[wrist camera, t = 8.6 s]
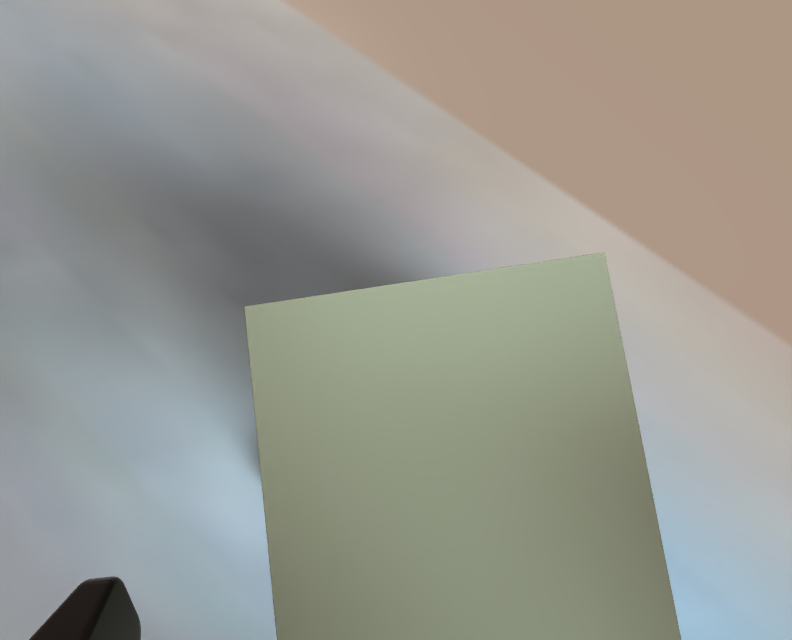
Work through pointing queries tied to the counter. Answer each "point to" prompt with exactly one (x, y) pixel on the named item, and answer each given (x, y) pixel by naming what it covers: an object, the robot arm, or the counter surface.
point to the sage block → (457, 462)
